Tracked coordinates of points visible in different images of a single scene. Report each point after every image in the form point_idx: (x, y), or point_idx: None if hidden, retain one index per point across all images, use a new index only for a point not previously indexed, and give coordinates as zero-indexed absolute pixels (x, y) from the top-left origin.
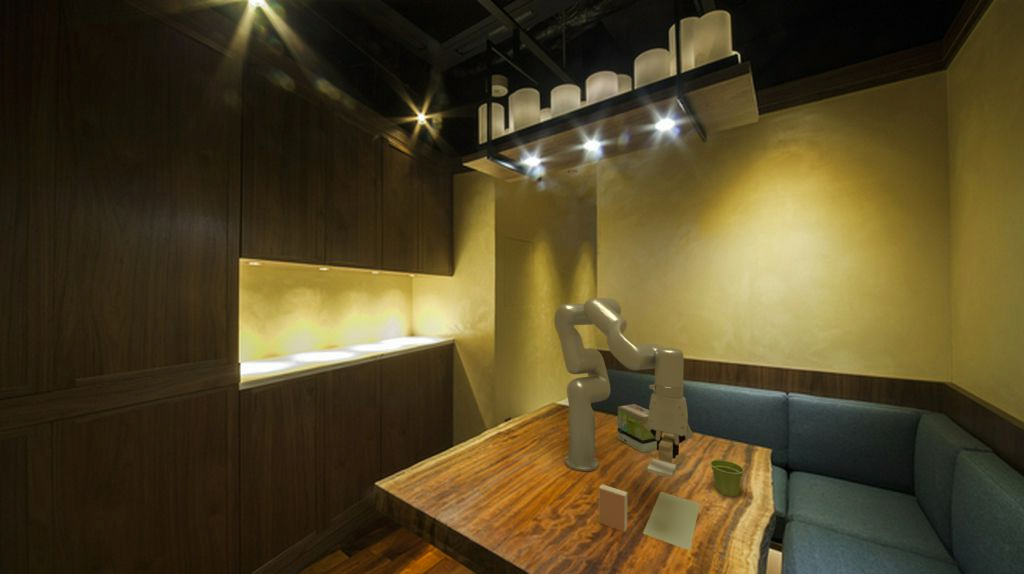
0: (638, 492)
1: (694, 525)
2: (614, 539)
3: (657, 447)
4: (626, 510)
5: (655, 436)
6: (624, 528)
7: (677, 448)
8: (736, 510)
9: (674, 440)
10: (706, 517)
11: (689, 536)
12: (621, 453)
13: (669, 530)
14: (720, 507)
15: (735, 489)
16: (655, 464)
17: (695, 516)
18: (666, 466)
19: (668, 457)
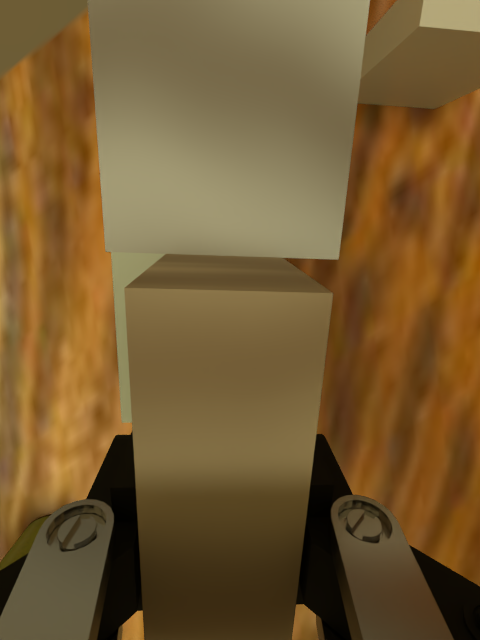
0: (328, 385)
1: (115, 267)
2: (372, 7)
3: (322, 447)
4: (373, 51)
5: (403, 553)
6: None
7: (102, 481)
8: (15, 457)
9: (103, 555)
10: (93, 360)
11: None
12: None
13: None
14: (63, 447)
15: (10, 551)
16: (299, 108)
17: (121, 328)
18: (184, 133)
19: (178, 263)
